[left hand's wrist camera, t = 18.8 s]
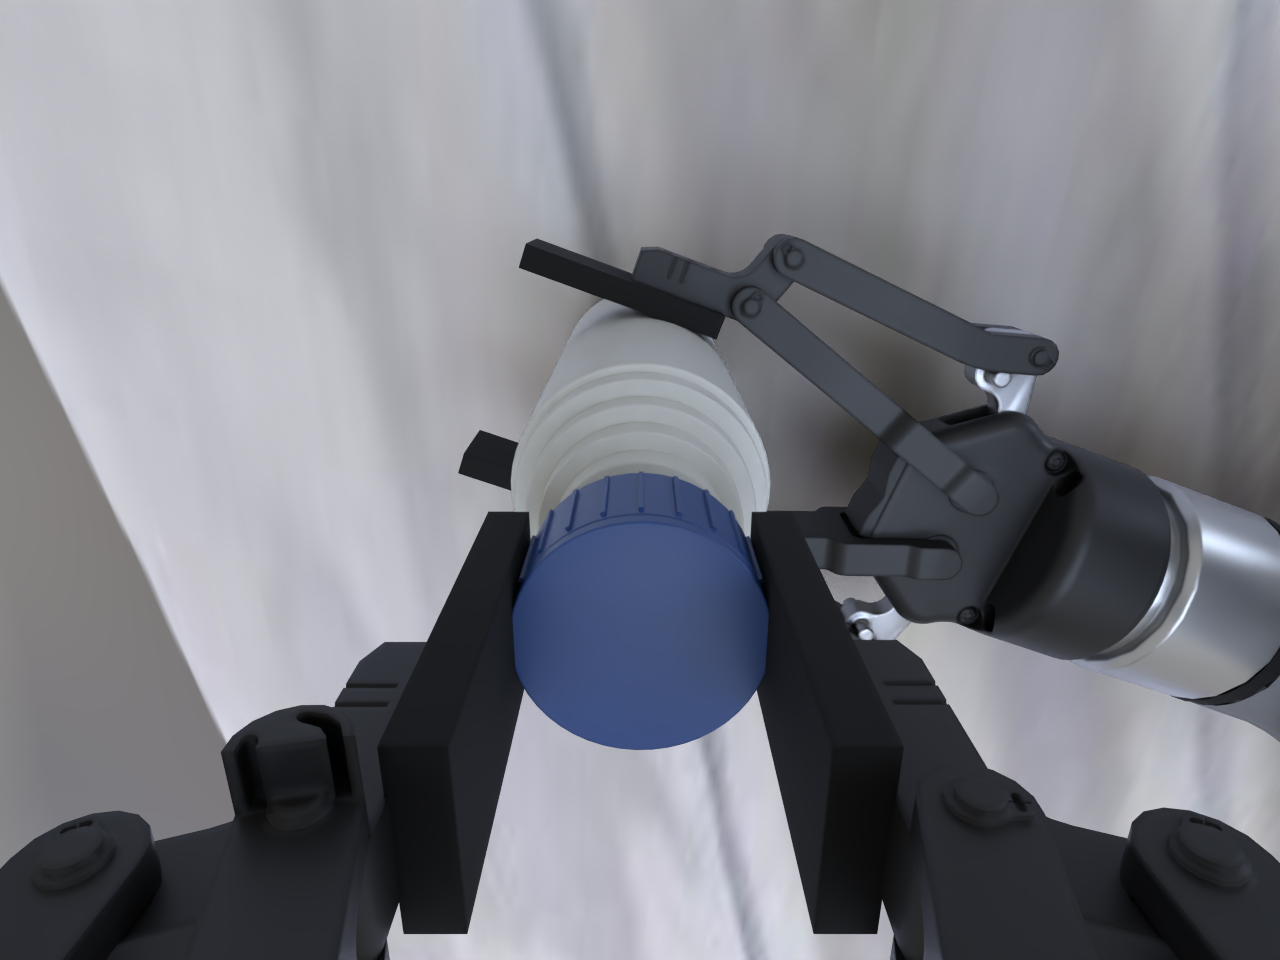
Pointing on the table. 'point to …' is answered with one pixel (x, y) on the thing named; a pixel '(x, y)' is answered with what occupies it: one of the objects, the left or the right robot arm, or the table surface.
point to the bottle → (639, 417)
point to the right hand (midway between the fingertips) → (498, 356)
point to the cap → (640, 613)
